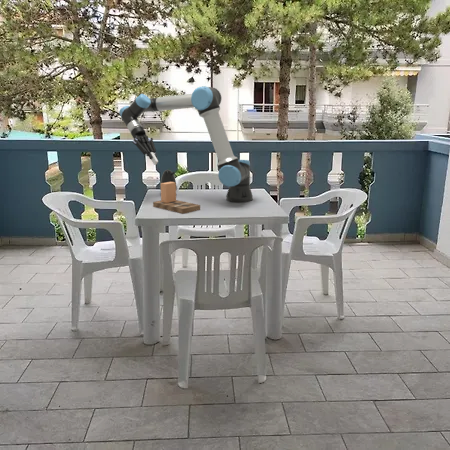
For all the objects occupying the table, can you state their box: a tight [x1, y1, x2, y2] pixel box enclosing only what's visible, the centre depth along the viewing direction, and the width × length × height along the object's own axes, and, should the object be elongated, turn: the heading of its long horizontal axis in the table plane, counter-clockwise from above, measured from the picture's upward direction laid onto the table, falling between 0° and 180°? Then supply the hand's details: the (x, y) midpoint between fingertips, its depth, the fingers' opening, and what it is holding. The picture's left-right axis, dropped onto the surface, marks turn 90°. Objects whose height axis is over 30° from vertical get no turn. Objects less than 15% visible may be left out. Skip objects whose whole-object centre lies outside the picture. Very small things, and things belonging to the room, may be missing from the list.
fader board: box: [152, 199, 201, 215], centre depth 235 cm, size 24×12×3 cm, turn 47°
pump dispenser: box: [159, 169, 178, 191], centre depth 268 cm, size 10×10×15 cm
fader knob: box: [160, 182, 177, 203], centre depth 237 cm, size 4×7×10 cm, turn 137°
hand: (156, 163), depth 242 cm, fingers closed
